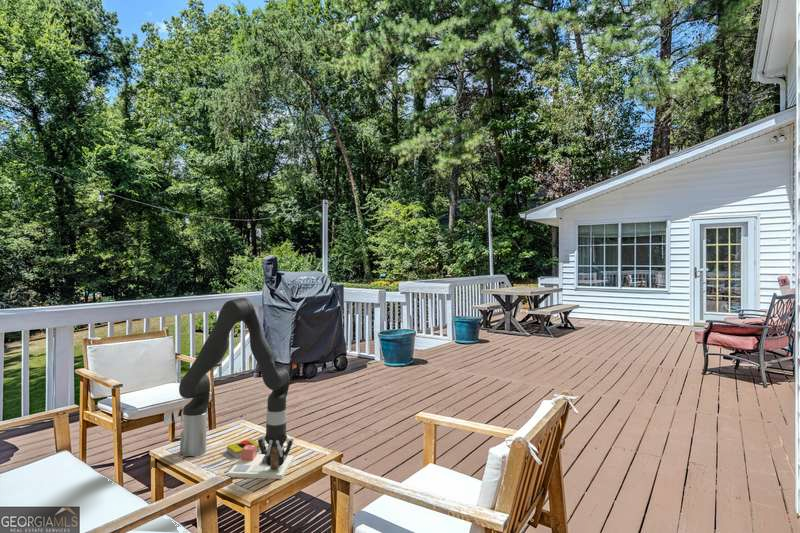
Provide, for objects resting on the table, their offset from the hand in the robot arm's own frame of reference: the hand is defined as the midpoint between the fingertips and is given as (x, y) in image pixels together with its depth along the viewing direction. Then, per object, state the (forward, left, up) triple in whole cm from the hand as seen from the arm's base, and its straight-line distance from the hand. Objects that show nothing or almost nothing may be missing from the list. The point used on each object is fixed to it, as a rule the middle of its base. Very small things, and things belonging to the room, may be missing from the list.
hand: (275, 464), depth 171 cm
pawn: (0, 0, -1) cm, 1 cm away
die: (-13, +9, -2) cm, 16 cm away
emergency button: (-20, +18, -4) cm, 27 cm away
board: (-6, +4, -3) cm, 9 cm away
